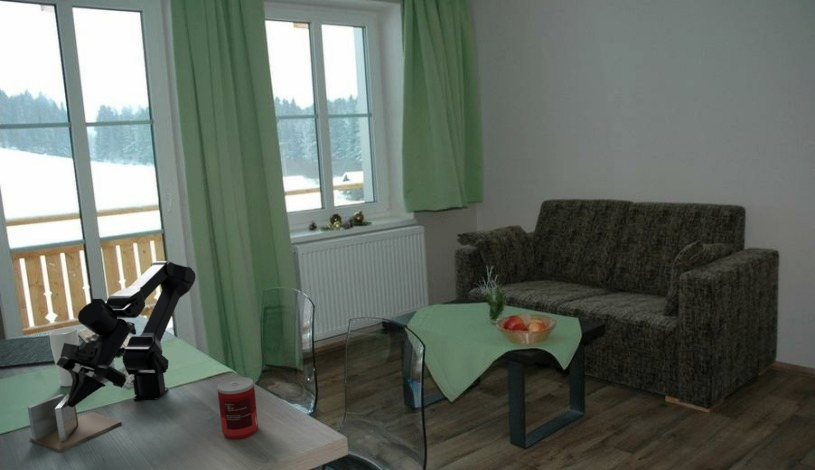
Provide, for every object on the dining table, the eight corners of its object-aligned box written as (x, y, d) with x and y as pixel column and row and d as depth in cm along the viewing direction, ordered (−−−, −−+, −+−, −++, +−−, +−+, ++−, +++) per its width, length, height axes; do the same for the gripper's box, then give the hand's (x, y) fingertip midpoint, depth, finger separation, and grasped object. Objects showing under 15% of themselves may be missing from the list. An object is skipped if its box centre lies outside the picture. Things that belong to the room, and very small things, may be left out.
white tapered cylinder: (73, 388, 172) (65, 334, 169) (51, 388, 173) (43, 334, 171) (90, 379, 178) (82, 327, 176) (69, 378, 180) (61, 326, 177)
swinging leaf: (71, 426, 147) (66, 395, 146) (76, 425, 147) (72, 394, 146) (59, 441, 139) (54, 408, 138) (65, 440, 140) (60, 407, 138)
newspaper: (78, 336, 222) (76, 326, 221) (116, 327, 229) (114, 318, 229) (102, 361, 194) (100, 350, 194) (144, 350, 202) (143, 340, 201)
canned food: (243, 420, 147) (238, 374, 145) (266, 429, 141) (261, 381, 140) (214, 433, 141) (209, 386, 139) (237, 443, 136) (231, 394, 134)
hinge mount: (91, 414, 155) (86, 380, 153) (121, 424, 148) (116, 388, 147) (30, 440, 143) (24, 403, 141) (59, 452, 136) (53, 414, 135)
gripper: (58, 322, 149) (16, 384, 142) (106, 331, 139) (64, 399, 132) (95, 344, 157) (57, 404, 149) (142, 354, 147) (105, 419, 139)
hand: (69, 406), depth 142 cm, fingers closed
